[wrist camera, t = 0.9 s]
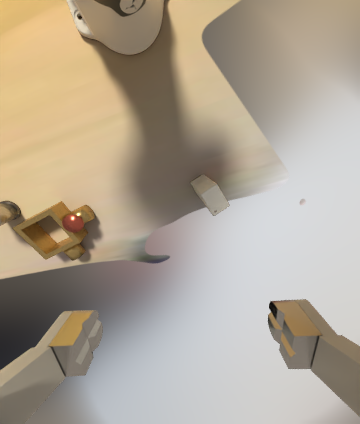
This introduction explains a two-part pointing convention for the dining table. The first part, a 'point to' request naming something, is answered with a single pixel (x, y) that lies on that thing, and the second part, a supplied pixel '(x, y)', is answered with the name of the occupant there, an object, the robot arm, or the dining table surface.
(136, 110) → the dining table surface
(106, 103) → the dining table surface
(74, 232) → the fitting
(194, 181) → the skincare box
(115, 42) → the robot arm
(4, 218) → the cylinder
